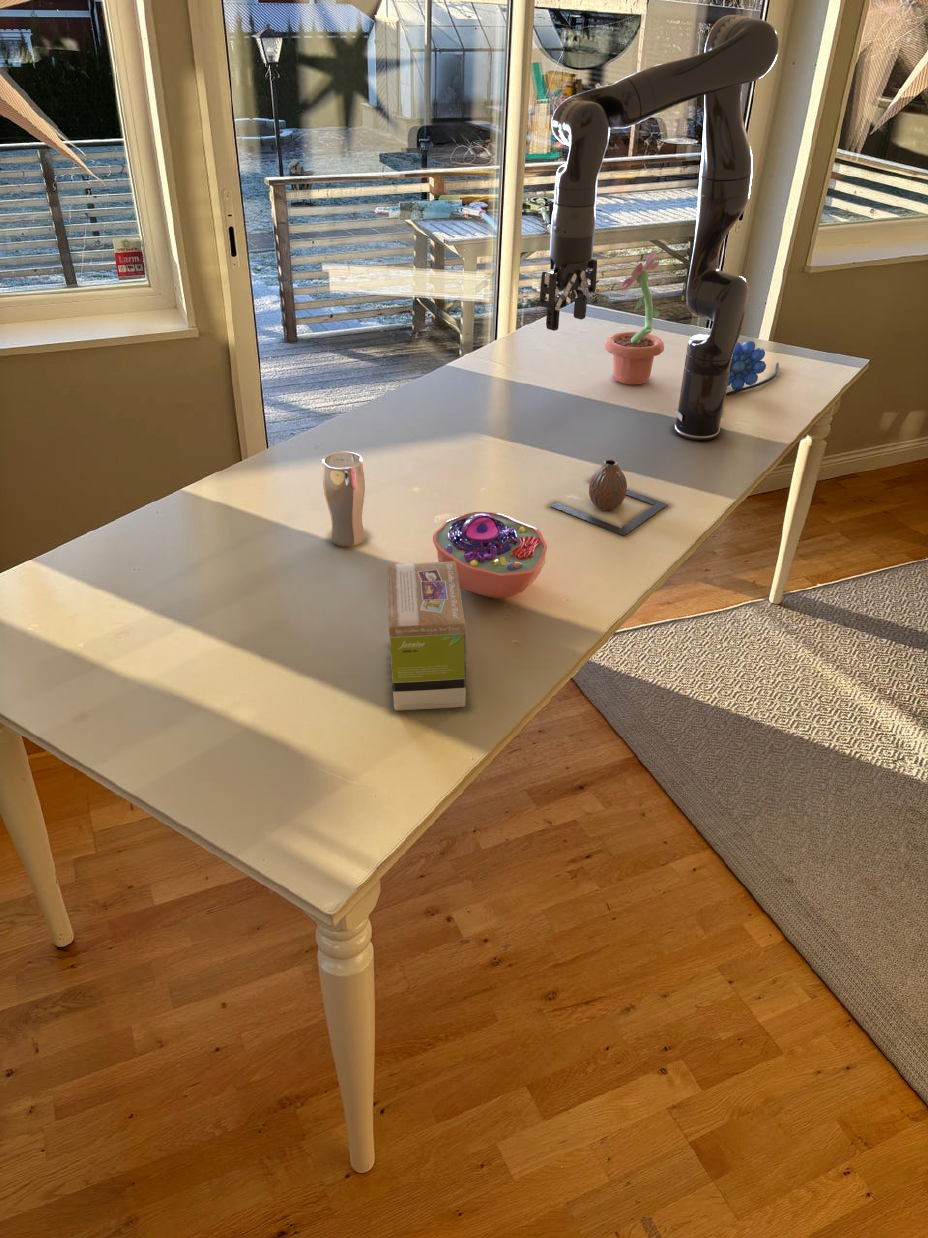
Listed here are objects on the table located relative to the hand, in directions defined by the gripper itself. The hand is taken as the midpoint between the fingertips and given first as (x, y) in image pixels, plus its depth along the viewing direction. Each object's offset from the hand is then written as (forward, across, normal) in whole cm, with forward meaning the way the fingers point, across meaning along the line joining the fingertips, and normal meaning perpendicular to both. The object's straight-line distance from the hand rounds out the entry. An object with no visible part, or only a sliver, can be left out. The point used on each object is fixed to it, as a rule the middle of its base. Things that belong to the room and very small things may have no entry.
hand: (566, 323), depth 170 cm
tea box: (+28, -67, -26) cm, 77 cm away
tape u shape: (+28, -8, -18) cm, 34 cm away
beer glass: (+28, -48, +10) cm, 57 cm away
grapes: (+28, +60, -9) cm, 67 cm away
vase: (+28, -8, -17) cm, 34 cm away
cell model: (+28, -43, -18) cm, 55 cm away
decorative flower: (+28, +49, +13) cm, 58 cm away
